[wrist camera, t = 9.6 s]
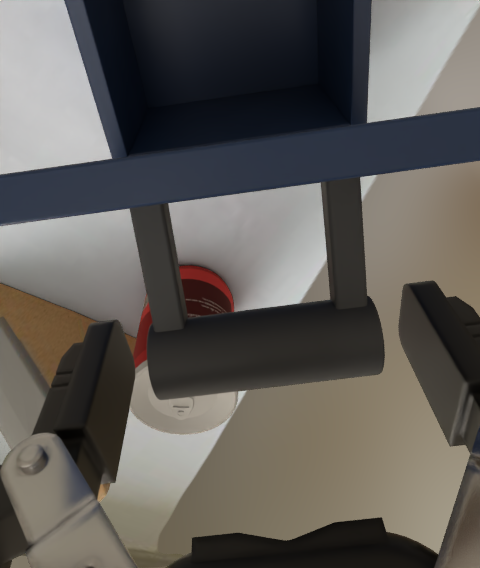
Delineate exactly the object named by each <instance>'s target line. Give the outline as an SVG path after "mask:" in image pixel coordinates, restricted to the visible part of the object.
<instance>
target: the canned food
mask: <svg viewBox="0 0 480 568" xmlns="http://www.w3.org/2000/svg"><path fill="white" fill-rule="evenodd" d="M179 269H180V275H181V281H182V286H183V292H184V298H185V303H186V309H187V315H188V318H189V317H197V316H205V315H213V314H221V313H229V312H234V303H233V298H232V295H231V293H230V291H229V289H228V287H227V285H226V283H225V282H224V281H223V280H222V279H221V278H220V277H219V276H218V275H217V274H216V273H214V272H212V271H210V270H208V269H206V268H203V267H199V266H192V265H189V266H179ZM152 323H153V322H152V317H151V312H150V307H149V302H148V297H147V294H146V297H145V301H144V306H143V311H142V315H141V320H140V325H139V330H138V334H137V339H136V344H135V348H134V353H133V358H134V362H135V382H134V387H133V392H132V397H131V403H130V410H131V411H132V413H133V414H134V415H135V416H136V418H137V419H139V420H140V421H141V422H142V423H144V424H145V425H147V426H149V427H151V428H153V429H156V430H158V431H161V432H166V433H170V434H180V435H184V434H196V433H201V432H205V431H208V430H211V429H213V428H215V427H217V426H219V425H220V424H222V423H223V422H225V421H226V420H227V419H228V418H229V417H230V416H231V415H232V413H233V411H234V410H235V408H236V404H237V401H238V391H236V392H228V393H220V394H211V395H203V396H194V397H186V398H178V399H169V400H159V399H157V397H156V396H155V394H154V391H153V389H152V386H151V382H150V378H149V372H148V365H147V335H148V330H149V327H150V325H151V324H152Z"/></svg>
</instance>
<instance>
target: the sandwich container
mask: <svg viewBox="0 0 480 568" xmlns="http://www.w3.org/2000/svg"><path fill="white" fill-rule="evenodd" d="M94 322H97V321H94V320H92V319H90V318H87V317H85V316H83V315H80V314H78V313H76V312H73V311H71V310H68V309H65V308H63V307H60V306H58V305H55V304H53V303H50V302H47V301H45V300H42V299H40V298H37V297H34V296H32V295H29V294H27V293H24V292H22V291H19V290H16V289H14V288H11V287H9V286H6V285H3V284H1V283H0V431H1V433H2V434H3V436H4V438H5V440H6V442H7V443H8V445H9V447H10V448H11V450H12V449H13V448H14V447H15V446H16V445H17V444H18V443H20V442H21V441H22V440H24V439H26V438H28V437H30V436H31V435H32V433H33V430H34V428H35V425H36V423H37V420H38V417H39V415H40V412H41V410H42V407H43V404H44V402H45V399H46V397H47V394H48V391H49V389H50V388H51V383H52V381H53V378H54V376H55V375H56V370H57V368H58V365H59V363H60V360H61V357H62V356H63V355H64V354H65V353H66V352H67V351H68V349H69V348H70V347H71V346H72V345H73V344H74V343H79V342H83V341H84V338H85V335H86V332H87V329H88V326H89V325H90V323H94ZM125 337H126V339H127V342H128V344H129V347H130V350H131V352H132V355H133V353H134V348H135V344H136V338H134V337H131V336H129V335H127V334H125ZM109 487H110V483H108V484H100V489H99V493H98V498H97V500H98V501H99V502H100V501H101V500H102V499H103V498H104V497H105V496H106V495H107V492H108V490H109Z"/></svg>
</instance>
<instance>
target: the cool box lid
mask: <svg viewBox="0 0 480 568" xmlns="http://www.w3.org/2000/svg"><path fill="white" fill-rule="evenodd" d="M474 161H480V107H477V108H470V109H463V110H456V111H449V112H442V113H436V114H428V115H421V116H413V117H406V118H399V119H392V120H385V121H378V122H371V123H364V124H357V125H350V126H342V127H335V128H328V129H321V130H314V131H307V132H300V133H293V134H286V135H278V136H271V137H264V138H257V139H250V140H243V141H236V142H229V143H222V144H214V145H207V146H200V147H193V148H186V149H179V150H172V151H165V152H158V153H150V154H143V155H136V156H129V157H122V158H115V159H108V160H101V161H94V162H87V163H79V164H72V165H65V166H58V167H51V168H44V169H37V170H30V171H23V172H15V173H8V174H1V175H0V226H4V225H11V224H19V223H26V222H33V221H41V220H48V219H55V218H63V217H70V216H77V215H85V214H92V213H99V212H107V211H114V210H121V209H129V208H130V212H131V217H132V222H133V227H134V232H135V237H136V242H137V247H138V252H139V257H140V262H141V267H142V272H143V277H144V282H145V287H146V292H147V297H148V302H149V307H150V312H151V317H152V322H153V323H152V324H151V325H150V327H149V330H148V335H147V365H148V372H149V378H150V382H151V386H152V389H153V391H154V394H155V396H156V397H157V399H159V400H169V399H178V398H186V397H194V396H203V395H211V394H220V393H228V392H236V391H245V390H253V389H261V388H269V387H278V386H287V385H295V384H303V383H312V382H320V381H328V380H337V379H345V378H354V377H362V376H370V375H378V374H380V373H381V372H382V370H383V367H384V358H385V357H384V356H385V354H384V340H383V333H382V328H381V323H380V319H379V315H378V312H377V310H376V307H375V305H374V303H373V301H372V299H371V298H370V297H369V296H367V289H366V270H365V253H364V236H363V221H362V220H363V218H362V201H361V184H360V177H364V176H371V175H378V174H385V173H393V172H400V171H408V170H415V169H422V168H430V167H437V166H444V165H452V164H459V163H466V162H474ZM320 182H321V190H322V202H323V214H324V226H325V238H326V251H327V263H328V275H329V287H330V299H331V300H325V301H317V302H309V303H301V304H293V305H285V306H277V307H269V308H261V309H253V310H245V311H237V312H229V313H221V314H213V315H205V316H197V317H189V318H188V315H187V309H186V303H185V298H184V292H183V286H182V281H181V275H180V269H179V264H178V258H177V252H176V247H175V241H174V235H173V230H172V224H171V218H170V213H169V207H168V203H173V202H180V201H188V200H195V199H202V198H210V197H217V196H224V195H232V194H239V193H246V192H254V191H261V190H268V189H276V188H283V187H290V186H298V185H305V184H312V183H320Z"/></svg>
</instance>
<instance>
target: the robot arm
mask: <svg viewBox="0 0 480 568" xmlns="http://www.w3.org/2000/svg"><path fill="white" fill-rule="evenodd" d="M399 336H400V341H401V344H402V347H403V349H404V351H405V354H406V356H407V358H408V360H409V362H410V364H411V366H412V368H413V370H414V372H415V374H416V377H417V379H418V381H419V383H420V385H421V387H422V389H423V391H424V393H425V395H426V397H427V400H428V401H429V404H430V406H431V408H432V410H433V412H434V414H435V416H436V418H437V420H438V423H439V424H440V427H441V429H442V431H443V433H444V435H445V437H446V439H447V441H448V443H449V445H450V446H459V445H466V446H467V448H468V450H469V452H470V457H469V460H468V463H467V466H466V470H465V473H464V476H463V479H462V482H461V485H460V489H459V492H458V495H457V498H456V501H455V504H454V507H453V511H452V514H451V517H450V520H449V523H448V526H447V529H446V533H445V536H444V539H443V542H442V546H441V549H440V552H439V555H438V554H437V553H435V552H434V551H433V550H431V549H430V548H428V547H426V546H424V545H422V544H421V543H419V542H417V541H414V540H412V539H410V538H407V537H405V536H401V535H398V534H394V533H389V532H386V530H385V527H384V523H383V520H382V518H372V519H362V520H353V521H344V522H335V523H332V524H330V525H327V526H325V527H322V528H320V529H317V530H315V531H313V532H310V533H307V534H305V535H302V536H300V537H297V538H295V539H292V540H287V541H283V540H278V539H272V538H266V537H260V536H254V535H248V534H242V533H233V534H222V535H213V536H204V537H194V538H192V553H189V554H187V555H185V556H183V557H181V558H179V559H177V560H176V561H174V562H173V563H171V564H170V565H169V566H167V567H166V568H480V317H479V316H478V314H477V313H476V312H475V310H474V309H473V308H472V307H471V306H469V305H468V304H466V303H465V302H464V301H462V300H460V299H459V298H457V297H456V296H455V297H447V298H446V297H445V295H444V294H443V292H442V291H441V289H440V288H439V286H438V285H437V284H436V282H435V281H425V282H417V283H409V284H405V285H404V286H403V290H402V299H401V309H400V318H399ZM134 382H135V362H134V358H133V355H132V352H131V350H130V347H129V344H128V342H127V339H126V337H125V334H124V331H123V329H122V326H121V324H120V322H119V321H118V320H110V321H102V322H94V323H90V325H89V326H88V329H87V332H86V335H85V338H84V341H83V342H79V343H74V344H73V345H72V346H71V347H70V348H69V349H68V351H67V352H66V353H65V354H64V355H63V356H62V357H61V360H60V363H59V365H58V368H57V370H56V375H55V376H54V378H53V381H52V383H51V388H50V389H49V391H48V394H47V397H46V399H45V402H44V404H43V407H42V410H41V412H40V415H39V417H38V420H37V423H36V425H35V428H34V430H33V433H32V435H31V436H30V437H28V438H26V439H24V440H22V441H21V442H20V443H18V444H17V445H16V446H15V447H14V448H13V449H12V450H11V451H10V452H9V453H8V455H7V456H6V457H5V459H4V461H3V463H2V465H0V568H10V565H11V562H12V559H14V558H16V557H18V556H21V555H23V554H25V553H26V556H27V559H28V562H29V564H30V567H31V568H138V567H137V565H136V563H135V562H134V560H133V558H132V557H131V555H130V553H129V552H128V550H127V548H126V547H125V545H124V543H123V542H122V540H121V538H120V537H119V535H118V533H117V531H116V530H115V528H114V526H113V525H112V523H111V521H110V520H109V518H108V516H107V515H106V513H105V511H104V510H103V508H102V506H101V505H100V503H99V501H98V500H97V498H98V493H99V489H100V484H108V483H115V481H116V476H117V471H118V466H119V460H120V455H121V450H122V445H123V439H124V434H125V429H126V424H127V418H128V413H129V408H130V403H131V397H132V392H133V387H134Z"/></svg>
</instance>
